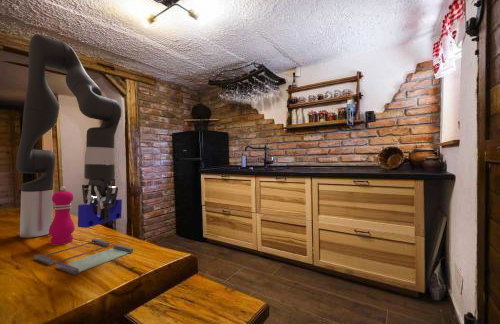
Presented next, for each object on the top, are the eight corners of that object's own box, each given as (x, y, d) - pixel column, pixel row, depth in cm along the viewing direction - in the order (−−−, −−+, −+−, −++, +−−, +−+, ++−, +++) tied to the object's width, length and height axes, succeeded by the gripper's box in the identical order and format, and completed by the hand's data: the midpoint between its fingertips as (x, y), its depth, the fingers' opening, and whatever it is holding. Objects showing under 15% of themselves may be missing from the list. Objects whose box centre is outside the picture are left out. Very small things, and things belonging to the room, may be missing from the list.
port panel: (34, 259, 67) (34, 254, 67) (94, 241, 83) (94, 238, 83) (74, 274, 58) (74, 270, 58) (132, 252, 74) (133, 248, 74)
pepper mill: (43, 243, 80) (45, 186, 80) (66, 237, 86) (68, 184, 86) (56, 246, 77) (57, 187, 77) (79, 240, 84) (80, 186, 84)
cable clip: (109, 216, 75) (110, 198, 75) (121, 217, 73) (121, 199, 73) (73, 226, 63) (74, 204, 63) (86, 227, 62) (86, 206, 62)
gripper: (72, 162, 68) (70, 219, 68) (102, 163, 62) (100, 225, 61) (98, 162, 74) (96, 214, 74) (127, 163, 68) (126, 220, 68)
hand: (98, 219), depth 68 cm, fingers closed on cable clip, 5 cm apart
